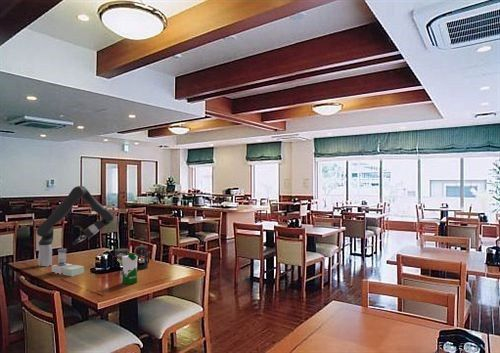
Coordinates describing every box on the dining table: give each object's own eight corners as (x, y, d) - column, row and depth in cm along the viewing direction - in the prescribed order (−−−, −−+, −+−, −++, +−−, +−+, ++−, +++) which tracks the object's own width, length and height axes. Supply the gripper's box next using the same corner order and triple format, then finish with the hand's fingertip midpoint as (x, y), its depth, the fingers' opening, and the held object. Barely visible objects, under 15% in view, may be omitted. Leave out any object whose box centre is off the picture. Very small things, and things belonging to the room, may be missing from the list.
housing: (55, 265, 266) (55, 249, 266) (63, 263, 271) (63, 248, 271) (61, 266, 263) (61, 250, 263) (68, 264, 268) (68, 248, 268)
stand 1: (51, 272, 265) (51, 265, 265) (64, 269, 274) (64, 263, 274) (60, 274, 260) (60, 267, 260) (72, 271, 269) (72, 264, 269)
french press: (139, 270, 270) (139, 240, 270) (132, 268, 276) (132, 239, 276) (152, 267, 280) (152, 238, 280) (144, 265, 285) (144, 237, 285)
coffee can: (128, 268, 276) (128, 250, 276) (114, 269, 273) (114, 251, 273) (129, 265, 286) (129, 248, 286) (115, 266, 283) (115, 248, 283)
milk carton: (127, 285, 232) (127, 255, 232) (120, 283, 238) (120, 253, 238) (139, 282, 239) (139, 252, 239) (131, 280, 245) (131, 251, 245)
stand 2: (62, 274, 259) (62, 267, 259) (75, 271, 268) (75, 264, 268) (71, 276, 254) (71, 269, 254) (83, 273, 263) (83, 266, 263)
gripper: (88, 227, 287) (70, 241, 280) (87, 226, 274) (68, 240, 267) (94, 234, 287) (76, 248, 281) (94, 234, 274) (75, 248, 268)
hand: (73, 244), depth 274 cm, fingers open, 8 cm apart
